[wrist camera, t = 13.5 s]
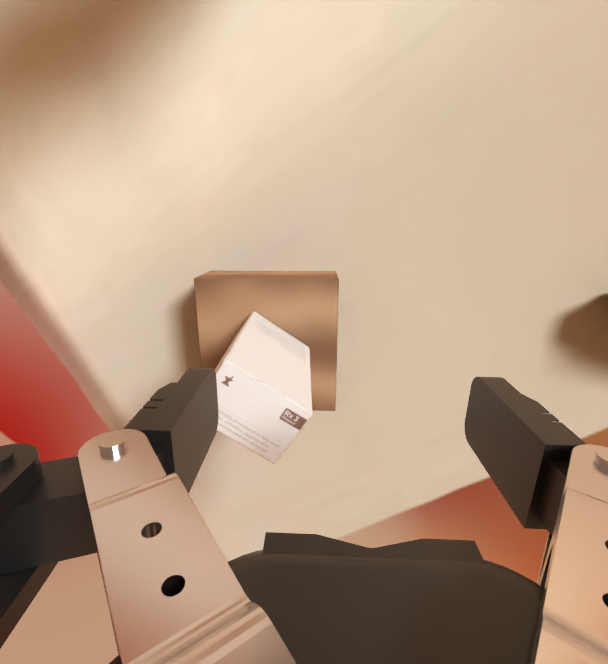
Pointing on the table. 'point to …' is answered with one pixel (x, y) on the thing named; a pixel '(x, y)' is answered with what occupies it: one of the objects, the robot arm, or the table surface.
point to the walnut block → (273, 317)
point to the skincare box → (264, 388)
